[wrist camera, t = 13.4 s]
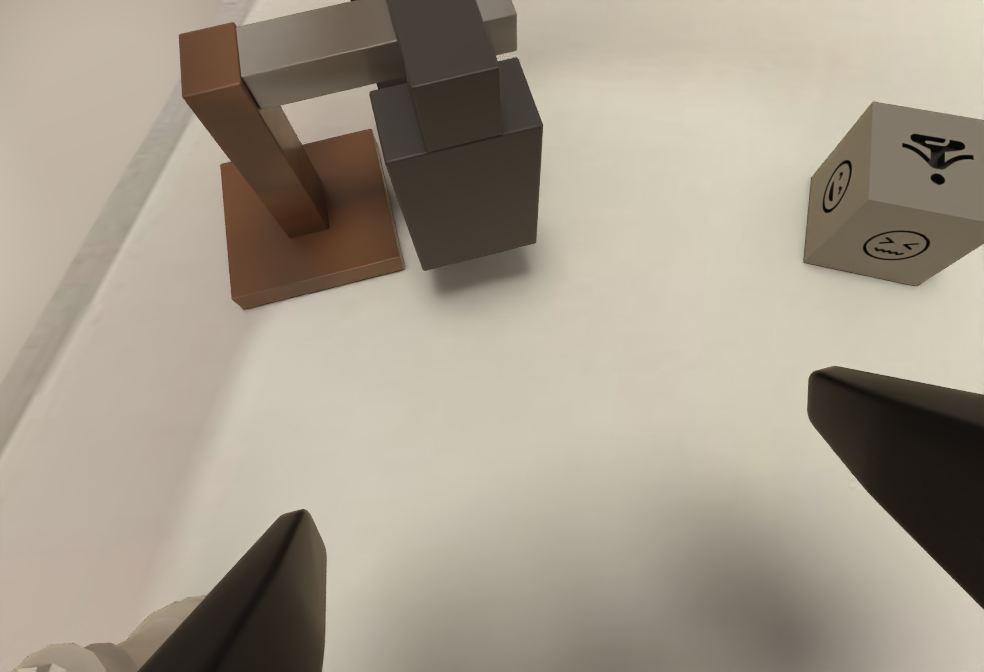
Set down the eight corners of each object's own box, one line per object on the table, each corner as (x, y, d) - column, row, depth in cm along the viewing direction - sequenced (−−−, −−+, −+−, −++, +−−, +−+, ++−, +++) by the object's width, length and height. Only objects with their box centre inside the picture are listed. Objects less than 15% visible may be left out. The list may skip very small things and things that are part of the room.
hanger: (492, 116, 29) (480, -82, 20) (532, 237, 26) (540, 73, 17) (231, 178, 29) (92, 3, 19) (243, 310, 26) (87, 179, 16)
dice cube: (917, 197, 26) (1004, 123, 22) (916, 286, 25) (1010, 226, 20) (811, 177, 27) (872, 101, 22) (803, 262, 25) (868, 199, 21)
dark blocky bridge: (536, 243, 23) (548, 56, 14) (423, 272, 23) (362, 99, 14) (471, 46, 27) (448, -193, 18) (375, 68, 27) (304, -163, 18)
